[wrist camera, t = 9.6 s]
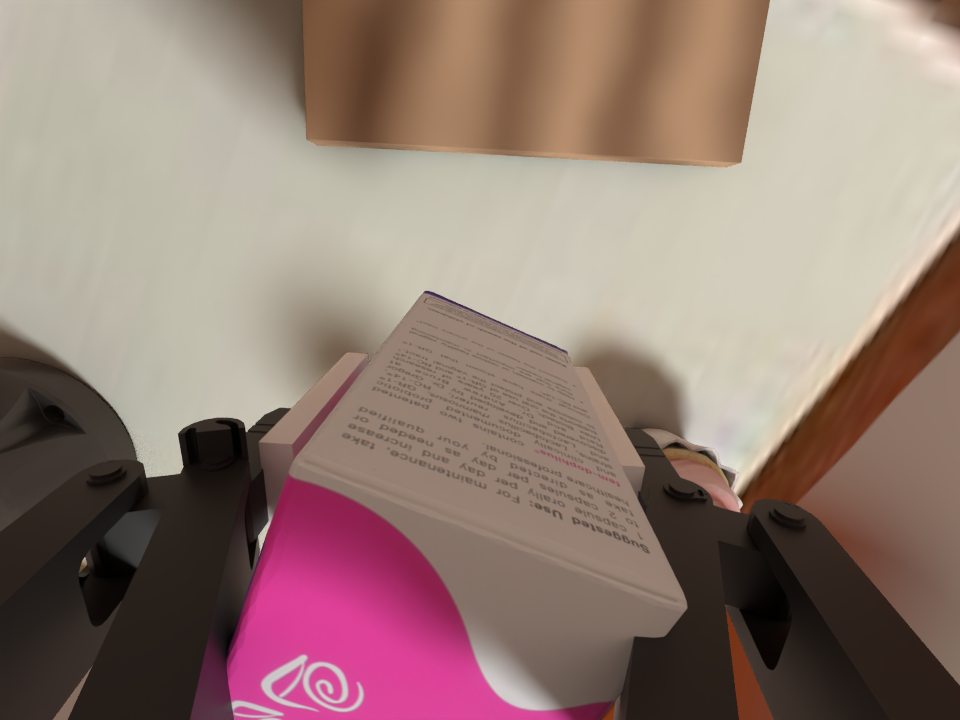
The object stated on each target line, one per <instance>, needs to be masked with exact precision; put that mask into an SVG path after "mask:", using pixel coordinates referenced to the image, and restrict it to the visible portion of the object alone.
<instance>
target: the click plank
mask: <svg viewBox="0 0 960 720" xmlns="http://www.w3.org/2000/svg"><path fill="white" fill-rule="evenodd" d="M769 2H770V0H302V15H303V46H304V77H305V108H306V139H307V140H309V141H311V142H313V143H314V144H316V145H323V146H342V147H360V148H379V149H397V150H416V151H434V152H452V153H471V154H489V155H508V156H526V157H545V158H563V159H582V160H600V161H618V162H637V163H655V164H674V165H692V166H711V167H729V166H732V165H735V164H738V163H741V160H742V155H743V149H744V143H745V138H746V132H747V126H748V121H749V115H750V110H751V104H752V98H753V93H754V87H755V81H756V76H757V70H758V64H759V59H760V53H761V48H762V42H763V36H764V31H765V25H766V19H767V14H768V8H769Z"/></svg>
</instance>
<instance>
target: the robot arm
mask: <svg viewBox="0 0 960 720" xmlns="http://www.w3.org/2000/svg"><path fill="white" fill-rule="evenodd" d="M367 364H368V354H366V353H350V352H347V353H346V354H345V355H344V356H343V357H342V358H341V359H340V360H339V361H338V362H337V363H336V364H335V365H334V366H333V367H332V368H331V369H330V370H329V371H328V372H327V373H326V374H325V375H324V376H323V377H322V378H321V379H320V380H319V381H318V382H317V383H316V384H315V385H314V386H313V387H312V388H311V389H310V390H309V391H308V392H307V393H306V394H305V395H304V396H303V397H302V398H301V399H300V400H299V401H298V402H297V403H296V405H295V406H294V407H293V408H292V409H291V408H278V409H276V410H274V411H272V412H270V413H268V414H266V415H264V416H263V417H262V418H261V419H260V420H259V421H258V422H257V423H256V425H253V426H252V427H251V428H250V429H249V430H248V432H246V431H245V425H244V423H243V422H242V421H240V420H238V419H233V418H213V419H207V420H203V421H199V422H196V423H193V424H191V425H189V426H187V427H185V428H183V429H182V430H181V431H180V432H179V433H178V437H179V443H180V448H181V454H182V460H183V466H184V467H183V469H182V471H181V474H176V475H168V476H159V477H150V478H146V475H145V470H144V465H143V463H141V462H139V461H137V458H136V454H135V450H134V447H133V444H132V442H131V440H130V437H129V435H128V433H127V431H126V430H125V428H124V426H123V425H122V423H121V422H120V420H119V419H118V417H117V416H116V415H115V413H114V412H113V411H112V410H111V409H110V408H109V406H108V405H107V404H106V403H105V402H104V401H103V400H102V399H101V398H100V397H99V396H97V395H96V394H95V393H94V392H93V391H92V390H90V389H89V388H88V387H86V386H85V385H84V384H82V383H81V382H79V381H78V380H76V379H74V378H73V377H71V376H69V375H67V374H65V373H63V372H61V371H59V370H57V369H55V368H52V367H50V366H47V365H44V364H41V363H38V362H34V361H29V360H24V359H17V358H0V720H53V718H54V717H55V716H56V714H57V713H58V712H59V710H60V709H61V707H62V706H63V705H64V703H65V702H66V701H67V699H68V698H69V697H70V695H71V694H72V692H73V691H74V690H75V688H76V687H77V686H78V684H79V683H80V682H81V680H82V679H83V678H84V676H85V675H86V673H87V672H88V671H89V669H90V668H91V667H92V668H91V670H90V672H89V675H88V677H87V679H86V681H85V683H84V685H83V688H82V690H81V692H80V694H79V696H78V699H77V701H76V703H75V705H74V707H73V710H72V712H71V714H70V716H69V718H68V720H234V715H233V709H232V703H231V696H230V690H229V684H228V675H227V665H226V653H227V650H228V647H229V645H230V642H231V639H232V636H233V633H234V630H235V627H236V623H237V620H238V617H239V615H240V612H241V609H242V605H243V602H244V599H245V596H246V593H247V590H248V587H249V585H250V582H251V579H252V576H253V573H254V570H255V567H256V564H257V562H258V559H259V554H260V548H259V540H258V535H259V534H260V532H261V531H262V530H263V528H264V527H265V525H266V524H268V529H269V526H270V523H271V521H272V518H273V515H274V512H275V509H276V506H277V503H278V500H279V497H280V494H281V491H282V488H283V486H284V483H285V481H286V478H287V475H288V473H289V470H290V467H291V465H292V463H293V461H294V459H295V457H296V456H297V455H298V454H299V452H300V451H301V450H302V449H303V448H304V446H305V445H306V444H307V443H308V441H309V440H310V439H311V437H312V436H313V435H314V433H315V432H316V431H317V429H318V428H319V427H320V425H321V424H322V423H323V422H324V421H325V419H326V418H327V416H328V415H329V414H330V413H331V412H332V410H333V409H334V408H335V406H336V405H337V404H338V402H339V401H340V400H341V398H342V397H343V396H344V394H345V393H346V392H347V390H348V389H349V388H350V386H351V385H352V384H353V382H354V381H355V380H356V379H357V377H358V376H359V375H360V373H361V372H362V371H363V369H364V368H365V367H366V366H367ZM574 368H575V370H576V373H577V374H578V376H579V379H580V380H581V382H582V385H583V387H584V389H585V391H586V393H587V395H588V397H589V399H590V401H591V403H592V406H593V408H594V410H595V412H596V414H597V416H598V418H599V420H600V422H601V424H602V426H603V429H604V431H605V433H606V435H607V437H608V439H609V441H610V443H611V445H612V447H613V449H614V451H615V453H616V455H617V457H618V459H619V461H620V463H621V465H622V467H623V470H624V472H625V474H626V476H627V478H628V480H629V482H630V484H631V486H632V488H633V490H634V493H635V495H636V497H637V499H638V501H639V503H640V505H641V507H642V509H643V511H644V513H645V515H646V517H647V519H648V521H649V523H650V525H651V527H652V529H653V531H654V533H655V535H656V537H657V539H658V541H659V543H660V546H661V548H662V550H663V552H664V554H665V556H666V558H667V560H668V562H669V564H670V566H671V568H672V570H673V573H674V575H675V577H676V579H677V581H678V583H679V585H680V587H681V589H682V591H683V593H684V596H685V599H686V601H687V609H686V611H685V612H684V613H683V614H682V616H681V617H680V618H679V619H678V621H677V622H676V623H675V625H674V626H673V627H672V628H671V630H670V631H669V632H668V633H667V635H665V636H664V637H656V638H652V637H639V636H634V640H633V645H632V650H631V654H630V659H629V664H628V668H627V673H626V677H625V682H624V686H623V690H622V693H621V695H620V696H619V697H618V699H617V700H616V702H615V709H614V717H613V720H739V717H738V708H737V700H736V692H735V683H734V675H733V666H732V658H731V649H730V641H729V632H728V624H727V615H726V609H727V612H728V614H729V616H730V619H731V621H732V623H733V625H734V628H735V630H736V632H737V635H738V637H739V639H740V642H741V644H742V646H743V649H744V651H745V653H746V656H747V658H748V660H749V663H750V665H751V667H752V670H753V672H754V674H755V677H756V679H757V681H758V684H759V686H760V688H761V691H762V693H763V695H764V697H765V700H766V702H767V705H768V707H769V709H770V711H771V714H772V716H773V719H774V720H960V685H959V684H958V683H957V682H956V681H955V680H954V678H953V677H952V676H951V675H950V674H949V673H948V671H947V670H946V669H945V668H944V667H943V665H942V664H941V663H940V662H939V661H938V659H937V658H936V657H935V656H934V655H933V654H932V653H931V651H930V650H929V649H928V648H927V647H926V645H925V644H924V643H923V642H922V641H921V639H920V638H919V637H918V636H917V635H916V634H915V632H914V631H913V630H912V629H911V628H910V627H909V625H908V624H907V623H906V622H905V621H904V619H903V618H902V617H901V616H900V615H899V614H898V612H897V611H896V610H895V609H894V608H893V607H892V605H891V604H890V603H889V602H888V600H887V599H886V598H885V597H884V596H883V595H882V593H881V592H880V591H879V590H878V589H877V588H876V586H875V585H874V584H873V583H872V582H871V580H870V579H869V578H868V577H867V576H866V575H865V573H864V572H863V571H862V570H861V569H860V568H859V566H858V565H857V564H856V563H855V562H854V560H853V559H852V558H851V557H850V556H849V554H848V553H847V552H846V551H845V550H844V549H843V547H842V546H841V545H840V544H839V543H838V542H837V540H836V539H835V538H834V537H833V536H832V535H831V533H830V532H829V531H828V530H827V529H826V527H825V526H824V525H823V524H822V523H821V522H820V521H819V520H818V519H817V518H816V517H815V516H813V515H812V514H811V513H809V512H807V511H805V510H804V509H802V508H801V507H799V506H797V505H795V504H792V503H789V502H786V501H779V500H774V499H762V500H758V501H755V503H754V504H753V506H752V509H751V513H750V515H748V514H744V513H740V512H736V511H732V510H728V509H724V508H721V507H718V506H715V505H713V500H712V497H711V495H710V494H709V493H708V492H707V491H706V490H705V489H704V488H703V487H701V486H699V485H698V484H696V483H694V482H692V481H689V480H686V479H683V478H681V477H680V476H679V474H678V473H677V472H676V470H675V469H674V467H673V466H672V464H671V463H670V461H669V460H668V458H666V455H665V454H664V452H663V451H662V450H660V447H659V445H658V444H657V442H656V441H655V439H654V438H653V437H651V436H650V435H648V434H647V433H646V432H644V431H643V430H641V429H627V428H623V427H622V425H621V424H620V422H619V420H618V419H617V417H616V415H615V413H614V412H613V410H612V408H611V406H610V405H609V403H608V401H607V399H606V398H605V396H604V394H603V392H602V391H601V389H600V387H599V385H598V384H597V382H596V380H595V378H594V377H593V375H592V373H591V372H590V370H589V368H588V367H575V366H574ZM84 557H86V561H87V566H86V567H85V568H84V569H83V570H82V571H81V572H80V573H79V569H80V566H81V563H82V560H83V559H84ZM725 604H726V607H725ZM92 665H93V666H92Z"/></svg>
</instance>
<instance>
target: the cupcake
mask: <svg viewBox="0 0 960 720" xmlns="http://www.w3.org/2000/svg"><path fill="white" fill-rule="evenodd" d="M641 430H643V431H644V432H646V433H647V434H648V435H650V436H651V437H653V438H654V439H655V441H656V442H657V444H658V445H659V447H660V450H662V451H663V452H664V454H665V455H666V458H668V460H669V461H670V463H671V464H672V466H673V467H674V469H675V470H676V472H677V473H678V474H679V476H680V477H681V478H683V479H686V480H689V481H692V482H694V483H696V484H698V485H699V486H701V487H703V488H704V489H705V490H706V491H707V492H708V493H709V494H710V495H711V497H712V500H713V505H715V506H718V507H721V508H724V509H728V510H732V511H736V512H740V508H741V507H742V502H741V500H740V499H739V497H738V496H737V495H736V494H735V493H734V491H733V489H734V487H735V485H736V483H737V480H738V478H739V472H737V471H736V470H734V469H731V468H729V467H726V466H723V465H720V460H719V455H718V453H717V451H716V450H715V449H714V448H708V447H703V446H698V445H694V444H692V443H689V442H687V441H685V440H683V439H681V438H680V437H678V436H676V435H675V434H673V433H671V432H669V431H666V430H663V429H655V428H646V429H641Z"/></svg>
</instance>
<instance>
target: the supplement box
mask: <svg viewBox="0 0 960 720" xmlns="http://www.w3.org/2000/svg"><path fill="white" fill-rule="evenodd" d="M686 609H687V601H686V599H685V596H684V593H683V591H682V589H681V587H680V585H679V583H678V581H677V579H676V577H675V575H674V573H673V570H672V568H671V566H670V564H669V562H668V560H667V558H666V556H665V554H664V552H663V550H662V548H661V546H660V543H659V541H658V539H657V537H656V535H655V533H654V531H653V529H652V527H651V525H650V523H649V521H648V519H647V517H646V515H645V513H644V511H643V509H642V507H641V505H640V503H639V501H638V499H637V497H636V495H635V493H634V490H633V488H632V486H631V484H630V482H629V480H628V478H627V476H626V474H625V472H624V470H623V467H622V465H621V463H620V461H619V459H618V457H617V455H616V453H615V451H614V449H613V447H612V445H611V443H610V441H609V439H608V437H607V435H606V433H605V431H604V429H603V426H602V424H601V422H600V420H599V418H598V416H597V414H596V412H595V410H594V408H593V406H592V403H591V401H590V399H589V397H588V395H587V393H586V391H585V389H584V387H583V385H582V382H581V380H580V379H579V376H578V374H577V373H576V370H575V368H574V366H573V364H572V362H571V360H570V357H569V356H568V352H567V351H565V350H563V349H560V348H558V347H557V346H555V345H552V344H550V343H548V342H546V341H543V340H541V339H539V338H536V337H533V336H531V335H528V334H526V333H524V332H522V331H519V330H517V329H515V328H513V327H510V326H508V325H506V324H503V323H501V322H499V321H497V320H494V319H492V318H490V317H488V316H485V315H483V314H481V313H479V312H476V311H474V310H472V309H470V308H468V307H465V306H463V305H461V304H458V303H456V302H454V301H452V300H449V299H447V298H445V297H443V296H440V295H438V294H435V293H433V292H430V291H425V292H424V293H423V294H422V295H421V296H420V297H419V298H418V300H417V301H416V302H415V304H414V305H413V306H412V308H411V309H410V310H409V311H408V312H407V314H406V315H405V316H404V318H403V319H402V320H401V322H400V323H399V324H398V325H397V327H396V328H395V329H394V331H393V332H392V333H391V334H390V336H389V337H388V338H387V340H386V341H385V342H384V343H383V344H382V345H381V347H380V348H379V350H378V351H377V352H376V354H375V355H374V357H373V358H372V359H371V360H370V362H369V363H368V364H367V366H366V367H365V368H364V369H363V371H362V372H361V373H360V375H359V376H358V377H357V379H356V380H355V381H354V382H353V384H352V385H351V386H350V388H349V389H348V390H347V392H346V393H345V394H344V396H343V397H342V398H341V400H340V401H339V402H338V404H337V405H336V406H335V408H334V409H333V410H332V412H331V413H330V414H329V415H328V416H327V418H326V419H325V421H324V422H323V423H322V424H321V425H320V427H319V428H318V429H317V431H316V432H315V433H314V435H313V436H312V437H311V439H310V440H309V441H308V443H307V444H306V445H305V446H304V448H303V449H302V450H301V451H300V452H299V454H298V455H297V456H296V457H295V459H294V461H293V463H292V465H291V467H290V470H289V473H288V475H287V478H286V481H285V483H284V486H283V488H282V491H281V494H280V497H279V500H278V503H277V506H276V509H275V512H274V515H273V518H272V521H271V523H270V526H269V529H268V532H267V534H266V537H265V541H264V544H263V547H262V550H261V553H260V556H259V559H258V562H257V564H256V567H255V570H254V573H253V576H252V579H251V582H250V585H249V587H248V590H247V593H246V596H245V599H244V602H243V605H242V609H241V612H240V615H239V617H238V620H237V623H236V627H235V630H234V633H233V636H232V639H231V642H230V645H229V647H228V650H227V653H226V665H227V675H228V684H229V690H230V696H231V703H232V709H233V715H234V720H601V719H602V717H603V716H604V715H605V714H606V712H607V711H608V710H609V709H610V707H611V706H612V705H613V704H614V702H615V701H616V700H617V699H618V697H619V696H620V695H621V693H622V690H623V686H624V682H625V677H626V673H627V668H628V664H629V659H630V654H631V650H632V645H633V640H634V636H639V637H652V638H656V637H664V636H665V635H667V633H668V632H669V631H670V630H671V628H672V627H673V626H674V625H675V623H676V622H677V621H678V619H679V618H680V617H681V616H682V614H683V613H684V612H685V611H686Z"/></svg>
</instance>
